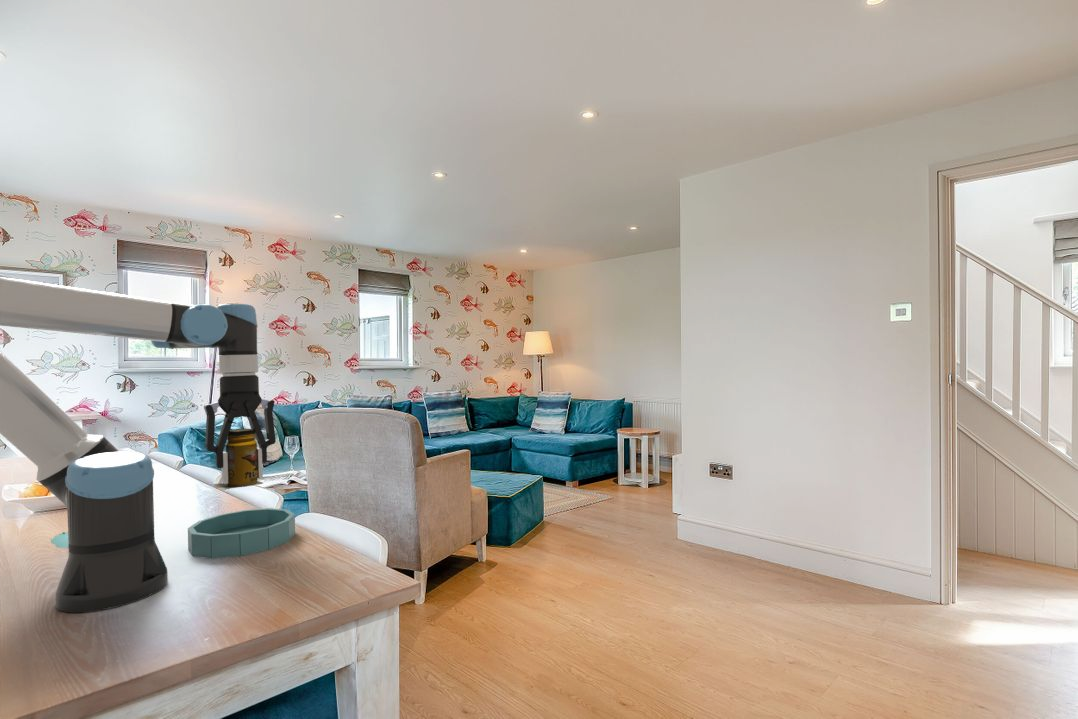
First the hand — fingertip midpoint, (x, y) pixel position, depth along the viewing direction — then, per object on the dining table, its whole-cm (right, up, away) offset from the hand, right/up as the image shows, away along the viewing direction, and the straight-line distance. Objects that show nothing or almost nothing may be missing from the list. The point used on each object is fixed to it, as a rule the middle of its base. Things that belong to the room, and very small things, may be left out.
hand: (242, 479), depth 120 cm
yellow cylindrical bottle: (-1, -1, 0) cm, 2 cm away
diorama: (-41, -15, +7) cm, 44 cm away
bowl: (0, -14, 0) cm, 14 cm away
